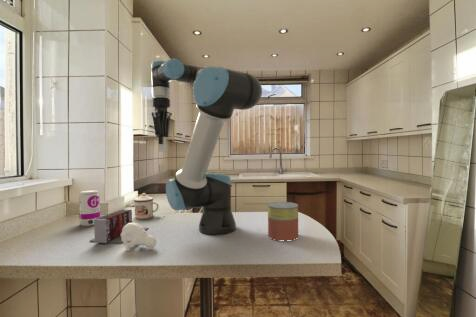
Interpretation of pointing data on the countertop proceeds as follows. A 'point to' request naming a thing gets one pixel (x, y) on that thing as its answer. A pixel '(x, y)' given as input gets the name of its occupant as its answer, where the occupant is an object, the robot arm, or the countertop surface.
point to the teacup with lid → (144, 207)
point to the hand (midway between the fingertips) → (162, 151)
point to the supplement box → (111, 225)
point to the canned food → (283, 220)
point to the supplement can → (89, 207)
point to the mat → (116, 239)
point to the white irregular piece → (136, 237)
